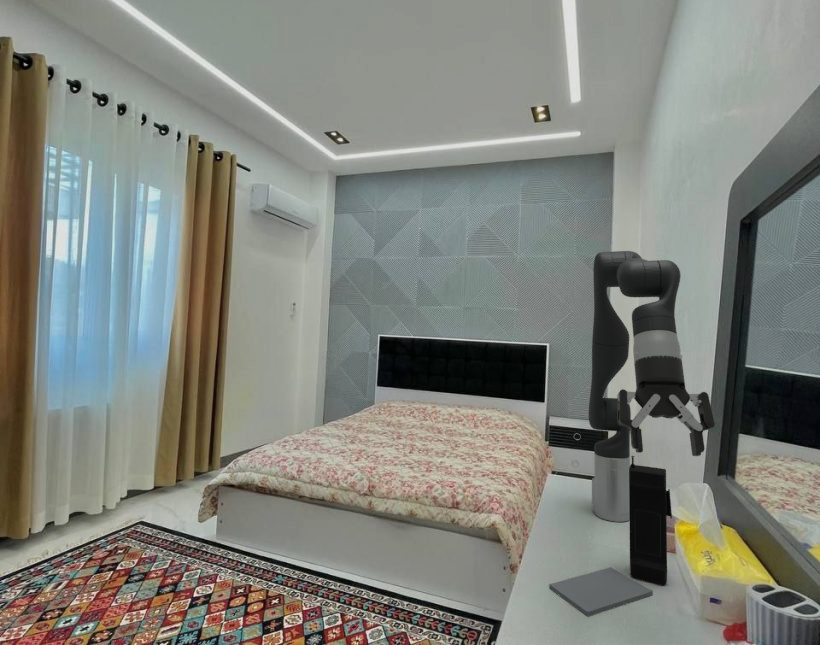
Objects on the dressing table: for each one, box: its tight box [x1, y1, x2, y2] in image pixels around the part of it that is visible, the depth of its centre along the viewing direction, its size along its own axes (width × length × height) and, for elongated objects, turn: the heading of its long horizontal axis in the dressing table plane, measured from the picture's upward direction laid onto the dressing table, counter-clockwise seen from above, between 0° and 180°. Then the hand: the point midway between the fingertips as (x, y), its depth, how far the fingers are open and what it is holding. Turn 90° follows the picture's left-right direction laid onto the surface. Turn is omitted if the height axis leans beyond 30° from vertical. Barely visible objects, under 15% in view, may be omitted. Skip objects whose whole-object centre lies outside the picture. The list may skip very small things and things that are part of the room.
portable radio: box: [629, 455, 673, 586], centre depth 95 cm, size 8×6×25 cm
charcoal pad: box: [548, 566, 654, 617], centre depth 89 cm, size 10×17×1 cm, turn 114°
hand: (667, 453), depth 74 cm, fingers open, 8 cm apart
